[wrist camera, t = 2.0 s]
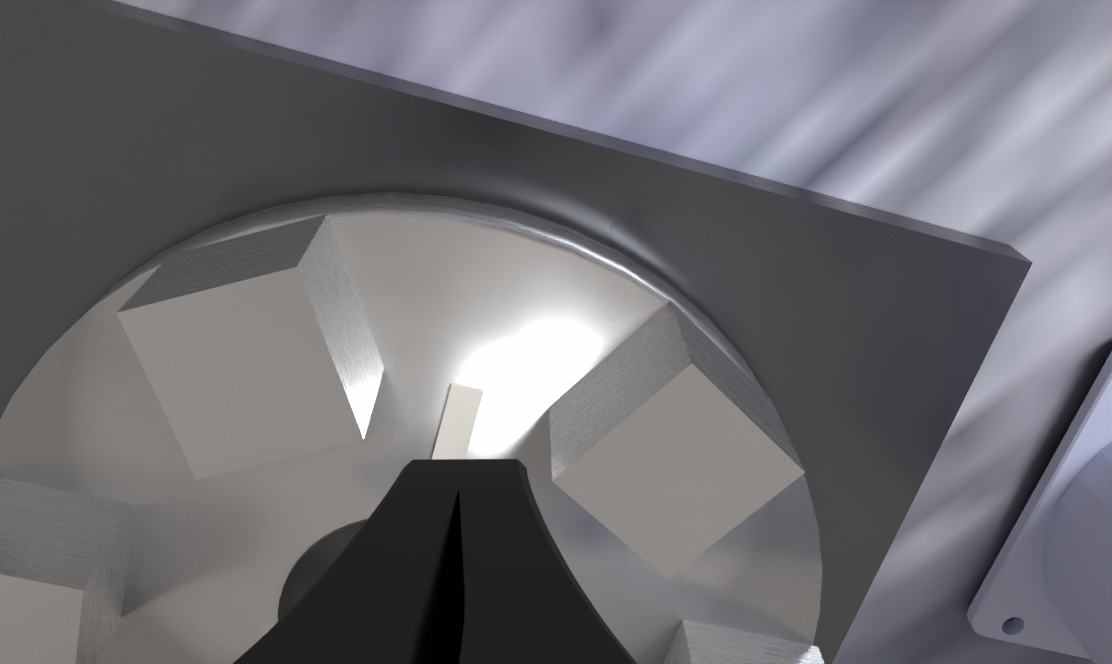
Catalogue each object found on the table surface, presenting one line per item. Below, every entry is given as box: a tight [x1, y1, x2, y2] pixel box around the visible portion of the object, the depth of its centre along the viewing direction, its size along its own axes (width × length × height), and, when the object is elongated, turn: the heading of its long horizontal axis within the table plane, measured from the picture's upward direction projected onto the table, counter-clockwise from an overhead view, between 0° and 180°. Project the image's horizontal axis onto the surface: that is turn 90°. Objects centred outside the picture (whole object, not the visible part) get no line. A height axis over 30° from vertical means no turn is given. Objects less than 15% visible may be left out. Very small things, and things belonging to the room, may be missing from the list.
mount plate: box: [0, 0, 1032, 664], centre depth 22 cm, size 20×20×1 cm
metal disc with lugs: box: [0, 192, 824, 664], centre depth 20 cm, size 17×17×4 cm
